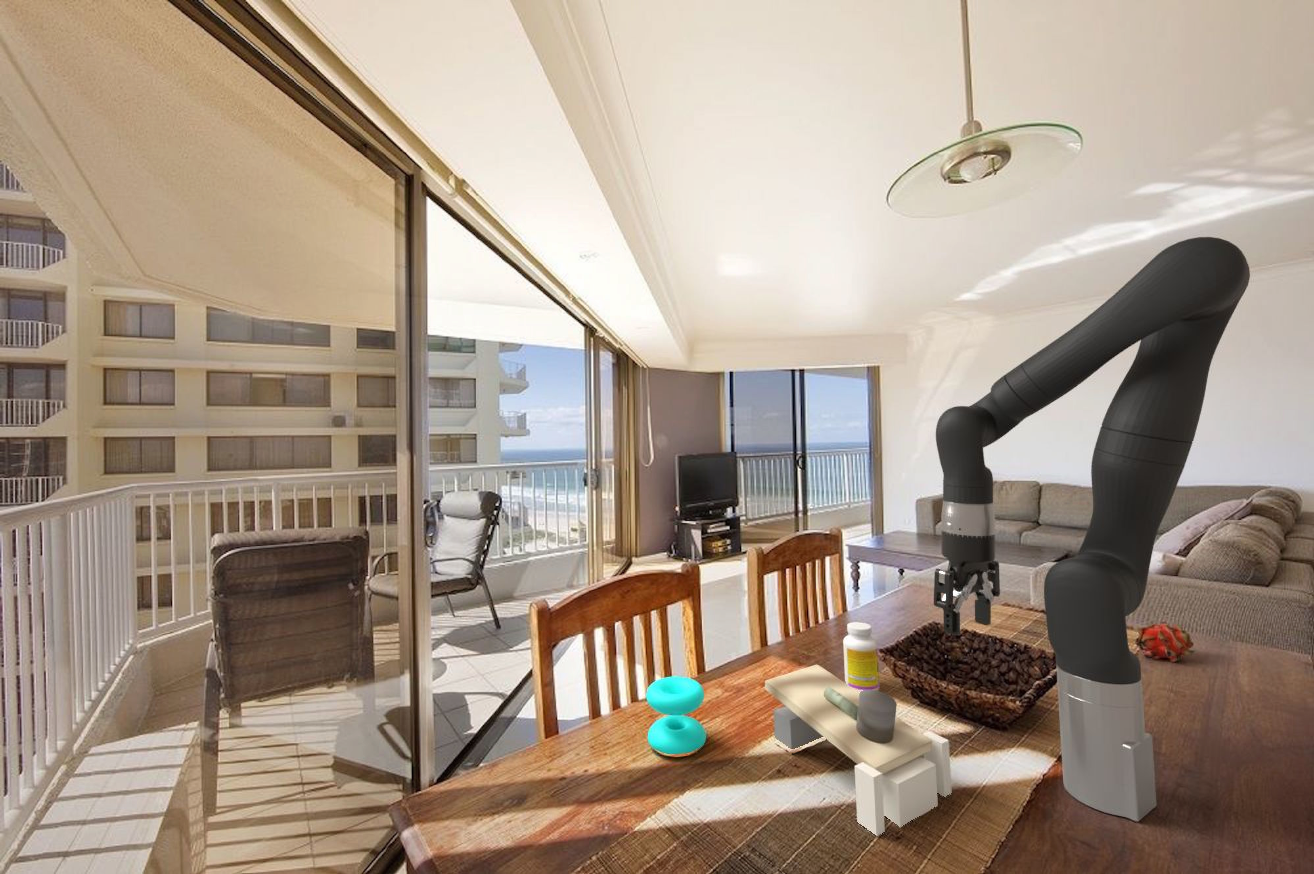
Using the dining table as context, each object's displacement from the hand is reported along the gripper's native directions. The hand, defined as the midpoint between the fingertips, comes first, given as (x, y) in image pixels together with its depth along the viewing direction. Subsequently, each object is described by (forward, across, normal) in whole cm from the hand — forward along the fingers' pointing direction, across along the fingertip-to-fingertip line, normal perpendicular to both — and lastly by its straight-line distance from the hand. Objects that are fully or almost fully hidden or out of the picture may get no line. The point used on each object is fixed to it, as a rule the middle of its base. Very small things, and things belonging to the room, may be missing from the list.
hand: (967, 628), depth 87 cm
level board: (+12, -21, +7) cm, 25 cm away
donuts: (+21, -39, +27) cm, 52 cm away
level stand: (+20, -21, +6) cm, 30 cm away
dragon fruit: (+20, +70, -3) cm, 73 cm away
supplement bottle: (+21, +4, +24) cm, 32 cm away
